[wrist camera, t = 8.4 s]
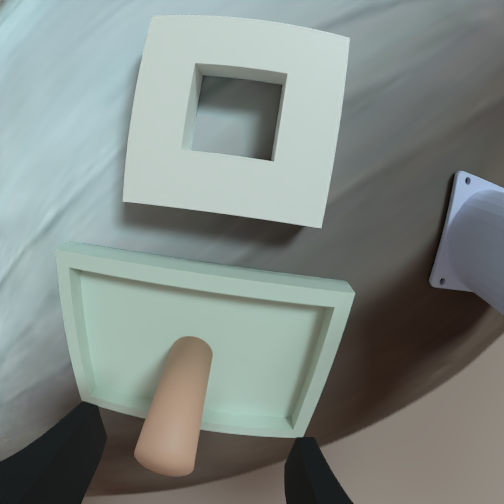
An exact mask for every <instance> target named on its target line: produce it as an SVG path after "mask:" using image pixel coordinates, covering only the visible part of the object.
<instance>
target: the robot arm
mask: <svg viewBox="0 0 504 504" xmlns="http://www.w3.org/2000/svg"><path fill="white" fill-rule="evenodd" d="M466 178H467V183H465V179H466ZM442 278H443V279H442ZM441 279H442V281H441V282H440V280H441ZM429 283H430V285H431V286H433V287H436V288H444V289H452V290H461V291H470V292H474V293H475V294H477V295H478V296H479V297H481V298H482V299H483V300H485V301H486V302H487V303H488V304H490V305H491V306H492V307H493V308H495V309H496V310H497V311H498V312H500V313H501V314H502V315H503V316H504V188H502V187H499V186H497V185H495V184H493V183H490V182H488V181H486V180H483V179H481V178H479V177H476V176H474V175H471V174H469V173H466V172H464V171H457V172H456V174H455V177H454V182H453V188H452V193H451V198H450V203H449V207H448V212H447V216H446V221H445V225H444V229H443V233H442V237H441V241H440V244H439V248H438V252H437V255H436V259H435V262H434V265H433V269H432V272H431V275H430V278H429ZM106 439H107V435H106V432H105V429H104V426H103V423H102V419H101V416H100V412H99V409H98V405H95V404H92V403H89V402H86V401H82V402H81V403H80V404H79V405H77V406H76V407H75V408H74V409H73V410H72V411H71V412H70V413H68V414H67V415H66V416H65V417H64V418H63V419H61V420H60V421H59V422H58V423H57V424H56V425H54V426H53V427H52V428H51V429H49V430H48V431H47V432H46V433H44V434H43V435H42V436H41V437H39V438H38V439H36V440H35V441H34V442H32V443H31V444H29V445H28V446H27V447H25V448H24V449H22V450H20V451H19V452H17V453H16V454H14V455H12V456H10V457H8V458H7V459H5V460H2V461H0V504H81V503H82V500H83V498H84V495H85V493H86V491H87V488H88V486H89V484H90V482H91V479H92V477H93V475H94V473H95V470H96V468H97V466H98V464H99V461H100V459H101V456H102V453H103V449H104V446H105V442H106ZM284 479H285V481H284V482H285V496H286V503H287V504H353V502H352V501H351V500H350V499H349V497H348V496H347V494H346V493H345V491H344V490H343V488H342V487H341V485H340V484H339V482H338V480H337V479H336V477H335V476H334V474H333V472H332V471H331V469H330V467H329V465H328V463H327V462H326V460H325V458H324V456H323V454H322V452H321V450H320V448H319V446H318V444H317V442H316V440H315V438H314V437H296V440H295V442H294V444H293V447H292V449H291V452H290V454H289V456H288V459H287V461H286V463H285V475H284Z"/></svg>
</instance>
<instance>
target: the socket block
mask: <svg viewBox="0 0 504 504" xmlns="http://www.w3.org/2000/svg"><path fill="white" fill-rule="evenodd" d="M349 41H350V38H348V37H344V36H340V35H336V34H332V33H328V32H324V31H320V30H315V29H311V28H306V27H301V26H296V25H290V24H285V23H278V22H272V21H265V20H257V19H248V18H238V17H225V16H204V15H166V16H152V19H151V22H150V26H149V30H148V34H147V38H146V42H145V46H144V51H143V55H142V60H141V64H140V69H139V74H138V79H137V85H136V90H135V96H134V102H133V108H132V115H131V121H130V129H129V136H128V145H127V154H126V163H125V174H124V187H123V202H132V203H141V204H150V205H158V206H167V207H175V208H183V209H191V210H199V211H206V212H214V213H221V214H229V215H236V216H243V217H250V218H257V219H264V220H271V221H277V222H284V223H290V224H297V225H303V226H310V227H316V228H321V227H322V222H323V217H324V212H325V207H326V202H327V196H328V191H329V185H330V180H331V174H332V168H333V162H334V156H335V150H336V144H337V137H338V131H339V124H340V117H341V110H342V103H343V95H344V87H345V79H346V70H347V61H348V52H349ZM203 76H216V77H227V78H237V79H245V80H253V81H261V82H267V83H274V84H280V85H282V92H281V98H280V105H279V111H278V118H277V124H276V131H275V137H274V144H273V150H272V157H271V161H269V160H262V159H256V158H249V157H241V156H234V155H226V154H218V153H209V152H200V151H191V149H192V141H193V134H194V127H195V121H196V114H197V108H198V102H199V96H200V90H201V84H202V78H203Z"/></svg>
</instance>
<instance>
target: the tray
mask: <svg viewBox="0 0 504 504" xmlns="http://www.w3.org/2000/svg"><path fill="white" fill-rule="evenodd" d="M56 263H57V274H58V284H59V293H60V300H61V308H62V314H63V321H64V326H65V332H66V338H67V343H68V348H69V352H70V357H71V362H72V366H73V370H74V374H75V378H76V382H77V386H78V390H79V393H80V397H81V400H82V401H86V402H89V403H92V404H95V405H98V406H100V407H103V408H106V409H110V410H113V411H117V412H121V413H124V414H128V415H132V416H136V417H140V418H144V419H146V416H147V414H148V411H149V408H150V405H151V402H152V400H153V397H154V394H155V391H156V389H157V386H158V383H159V380H160V378H161V375H162V372H163V370H164V367H165V364H166V362H167V359H168V356H169V354H170V351H171V348H172V346H173V344H174V342H175V341H176V340H177V339H179V338H181V337H185V336H193V337H197V338H200V339H202V340H204V341H205V342H206V343H207V344H208V345H209V346H210V348H211V350H212V353H213V357H212V363H211V368H210V374H209V380H208V385H207V391H206V397H205V403H204V408H203V414H202V420H201V426H200V429H201V430H208V431H215V432H223V433H231V434H241V435H252V436H265V437H285V438H296V437H303V436H304V433H305V431H306V429H307V426H308V424H309V422H310V419H311V417H312V415H313V412H314V410H315V408H316V405H317V403H318V400H319V398H320V395H321V393H322V390H323V387H324V385H325V382H326V380H327V377H328V374H329V372H330V369H331V366H332V363H333V361H334V358H335V355H336V352H337V349H338V346H339V343H340V340H341V337H342V334H343V331H344V328H345V325H346V322H347V319H348V316H349V313H350V309H351V306H352V303H353V299H354V296H355V292H354V291H353V289H352V288H351V287H350V285H349V284H348V282H347V281H342V280H334V279H327V278H319V277H311V276H303V275H296V274H288V273H281V272H273V271H266V270H258V269H251V268H244V267H237V266H230V265H223V264H215V263H208V262H202V261H195V260H188V259H181V258H174V257H167V256H161V255H154V254H147V253H141V252H134V251H128V250H121V249H115V248H109V247H102V246H96V245H90V244H84V243H77V242H71V241H70V242H68V243H66V244H64V245H63V246H61V247H59V248H57V249H56Z"/></svg>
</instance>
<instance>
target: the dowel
mask: <svg viewBox="0 0 504 504" xmlns="http://www.w3.org/2000/svg"><path fill="white" fill-rule="evenodd" d="M212 357H213V353H212V350H211V348H210V346H209V345H208V344H207V343H206V342H205V341H204V340H202V339H200V338H197V337H193V336H185V337H181V338H179V339H177V340H176V341H175V342H174V344H173V346H172V348H171V351H170V354H169V356H168V359H167V362H166V364H165V367H164V370H163V372H162V375H161V378H160V380H159V383H158V386H157V389H156V391H155V394H154V397H153V400H152V402H151V405H150V408H149V411H148V414H147V416H146V419H145V422H144V425H143V428H142V431H141V434H140V436H139V439H138V442H137V445H136V448H135V451H134V456H135V458H136V459H137V461H138V462H139V463H140V464H141V465H143V466H144V467H146V468H147V469H149V470H151V471H153V472H156V473H159V474H162V475H167V476H184V475H188V474H190V473H191V472H192V471H193V469H194V462H195V456H196V450H197V444H198V438H199V432H200V426H201V420H202V414H203V408H204V403H205V397H206V391H207V385H208V380H209V374H210V368H211V363H212Z"/></svg>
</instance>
